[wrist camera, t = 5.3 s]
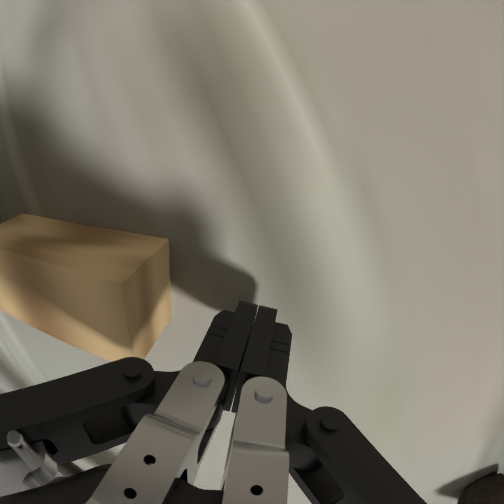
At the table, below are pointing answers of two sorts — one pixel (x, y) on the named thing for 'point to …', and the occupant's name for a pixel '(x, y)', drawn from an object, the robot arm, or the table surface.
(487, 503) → the dark brown bone
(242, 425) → the robot arm
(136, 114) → the table surface
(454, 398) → the table surface
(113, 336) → the tan wooden block
